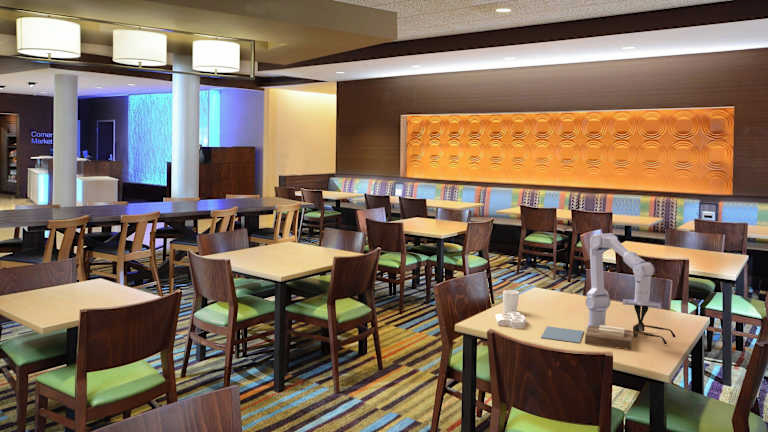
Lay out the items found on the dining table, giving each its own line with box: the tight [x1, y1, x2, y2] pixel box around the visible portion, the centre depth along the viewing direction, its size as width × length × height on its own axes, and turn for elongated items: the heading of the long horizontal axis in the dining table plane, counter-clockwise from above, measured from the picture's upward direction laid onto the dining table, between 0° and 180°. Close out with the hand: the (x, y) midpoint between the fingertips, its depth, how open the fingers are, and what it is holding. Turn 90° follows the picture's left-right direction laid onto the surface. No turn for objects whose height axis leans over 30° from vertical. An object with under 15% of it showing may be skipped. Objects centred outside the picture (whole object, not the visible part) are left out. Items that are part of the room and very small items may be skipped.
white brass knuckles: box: [494, 311, 530, 330], centre depth 284 cm, size 3×18×15 cm
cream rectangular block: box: [599, 325, 626, 337], centre depth 258 cm, size 7×10×2 cm
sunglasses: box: [631, 322, 676, 345], centre depth 265 cm, size 14×15×5 cm
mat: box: [540, 326, 584, 344], centre depth 266 cm, size 18×16×1 cm
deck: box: [584, 324, 633, 350], centre depth 259 cm, size 16×18×4 cm
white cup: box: [502, 289, 520, 313], centre depth 304 cm, size 8×8×10 cm
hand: (640, 323), depth 253 cm, fingers closed
